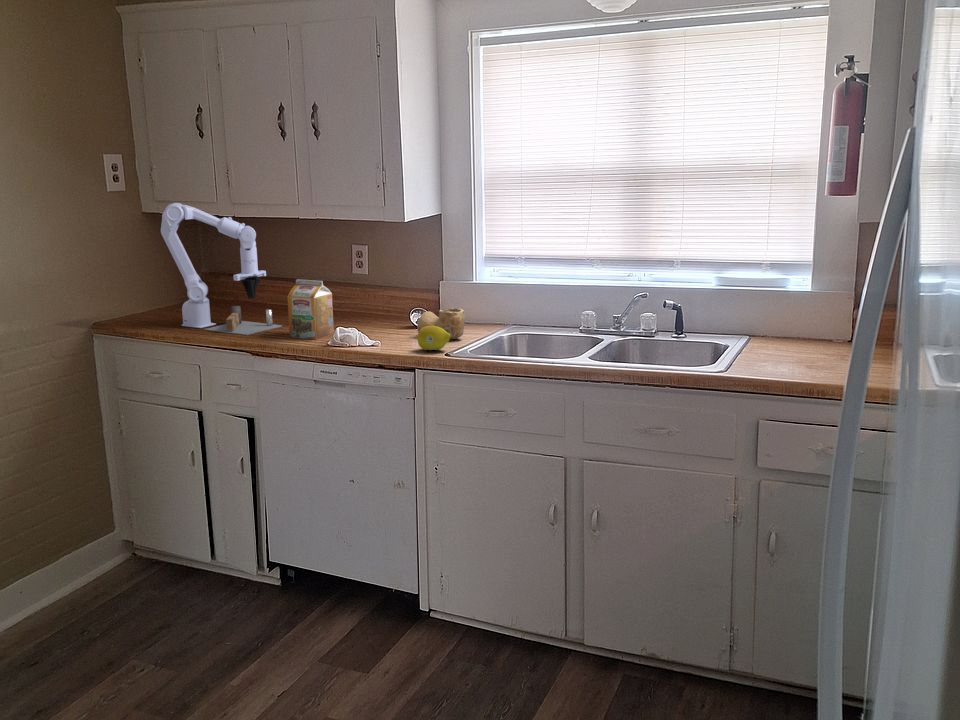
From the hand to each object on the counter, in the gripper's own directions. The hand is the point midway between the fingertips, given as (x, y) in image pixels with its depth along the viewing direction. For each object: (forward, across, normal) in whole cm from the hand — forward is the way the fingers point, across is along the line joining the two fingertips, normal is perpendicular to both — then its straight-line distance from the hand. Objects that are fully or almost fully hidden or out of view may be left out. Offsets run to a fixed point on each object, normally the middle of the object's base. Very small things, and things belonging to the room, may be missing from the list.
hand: (251, 298), depth 316 cm
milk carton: (+10, -7, -33) cm, 35 cm away
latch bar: (+9, -10, 0) cm, 13 cm away
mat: (+9, -8, -3) cm, 13 cm away
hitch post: (+9, -1, -9) cm, 13 cm away
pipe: (+10, +10, -75) cm, 76 cm away
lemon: (+10, -8, -82) cm, 83 cm away
